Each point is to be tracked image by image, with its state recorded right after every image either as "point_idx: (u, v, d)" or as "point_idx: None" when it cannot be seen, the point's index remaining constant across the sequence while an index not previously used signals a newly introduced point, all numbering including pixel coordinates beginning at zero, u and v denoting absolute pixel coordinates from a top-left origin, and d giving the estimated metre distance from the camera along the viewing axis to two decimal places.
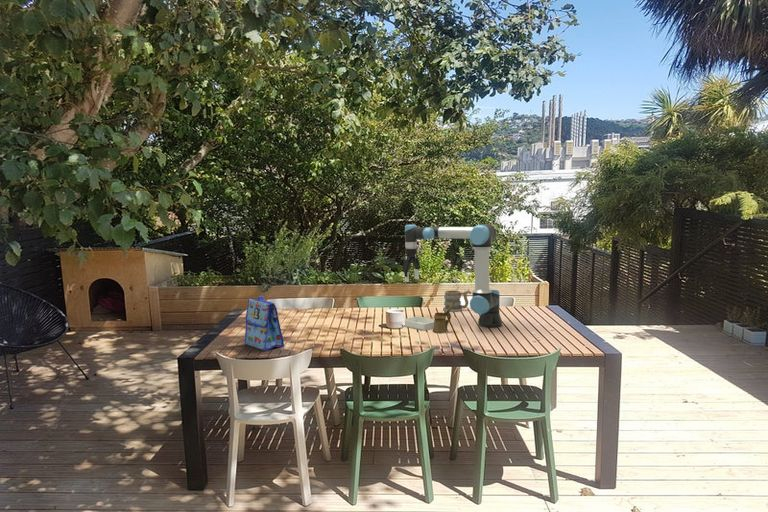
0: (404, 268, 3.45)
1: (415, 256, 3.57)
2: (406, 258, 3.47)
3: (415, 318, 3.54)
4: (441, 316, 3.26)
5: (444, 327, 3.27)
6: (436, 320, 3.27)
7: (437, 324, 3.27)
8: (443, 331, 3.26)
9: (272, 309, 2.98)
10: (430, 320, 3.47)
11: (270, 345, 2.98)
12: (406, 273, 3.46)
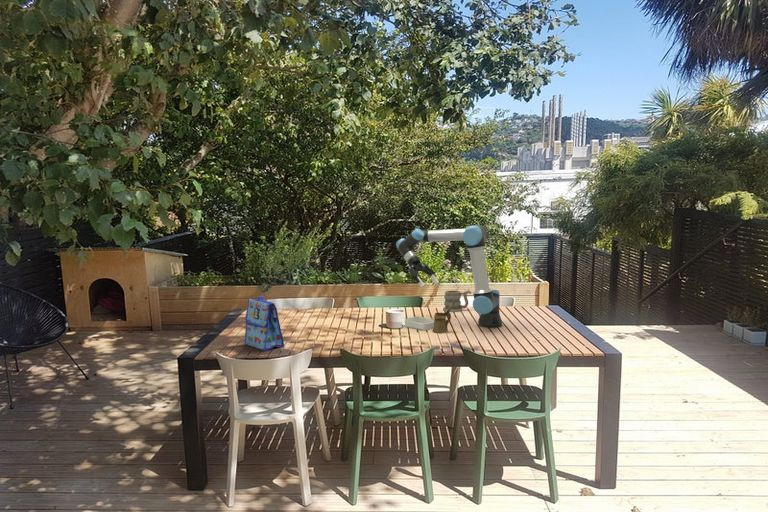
0: (412, 275, 3.32)
1: (422, 265, 3.45)
2: (410, 267, 3.37)
3: (415, 318, 3.54)
4: (441, 316, 3.26)
5: (444, 327, 3.27)
6: (436, 320, 3.27)
7: (437, 324, 3.27)
8: (443, 331, 3.26)
9: (272, 309, 2.98)
10: (430, 320, 3.47)
11: (270, 345, 2.98)
12: (416, 278, 3.31)
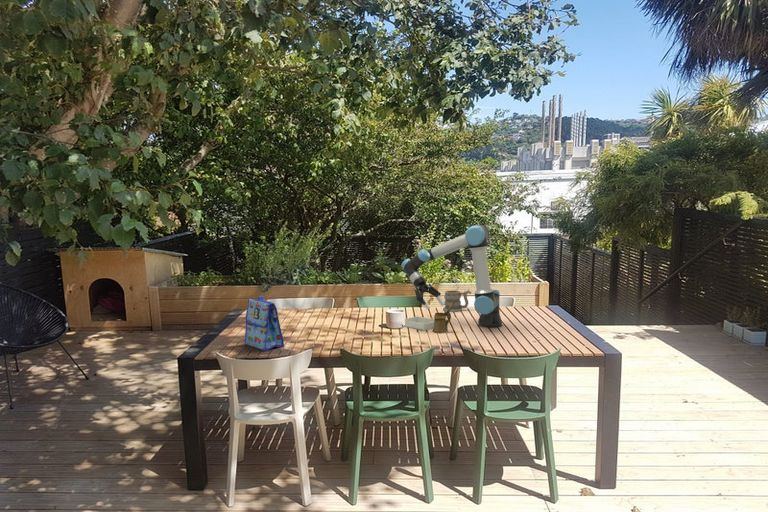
0: (417, 297, 3.30)
1: (428, 286, 3.42)
2: (415, 288, 3.34)
3: (415, 318, 3.54)
4: (441, 316, 3.26)
5: (444, 327, 3.27)
6: (436, 320, 3.27)
7: (437, 324, 3.27)
8: (443, 331, 3.26)
9: (272, 309, 2.98)
10: (430, 320, 3.47)
11: (270, 345, 2.98)
12: (422, 300, 3.29)
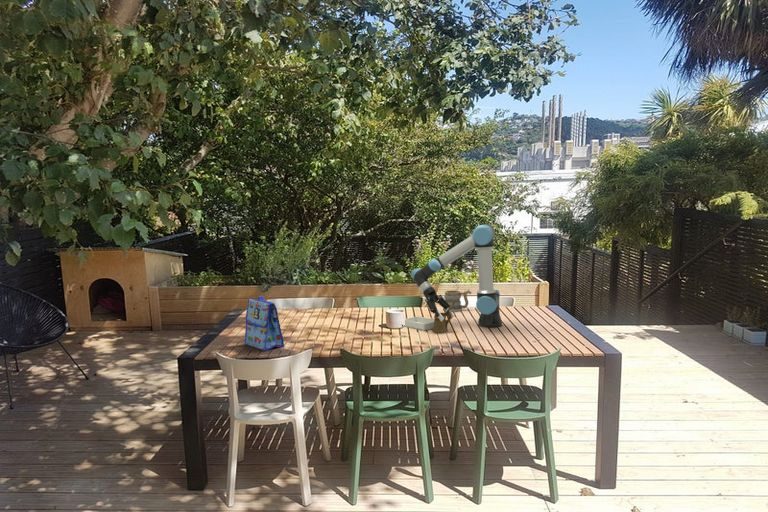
0: (431, 309, 3.25)
1: (438, 296, 3.37)
2: (426, 300, 3.29)
3: (415, 318, 3.54)
4: None
5: (444, 327, 3.27)
6: (436, 320, 3.27)
7: (437, 324, 3.27)
8: (443, 331, 3.26)
9: (272, 309, 2.98)
10: (430, 320, 3.47)
11: (270, 345, 2.98)
12: (436, 312, 3.25)
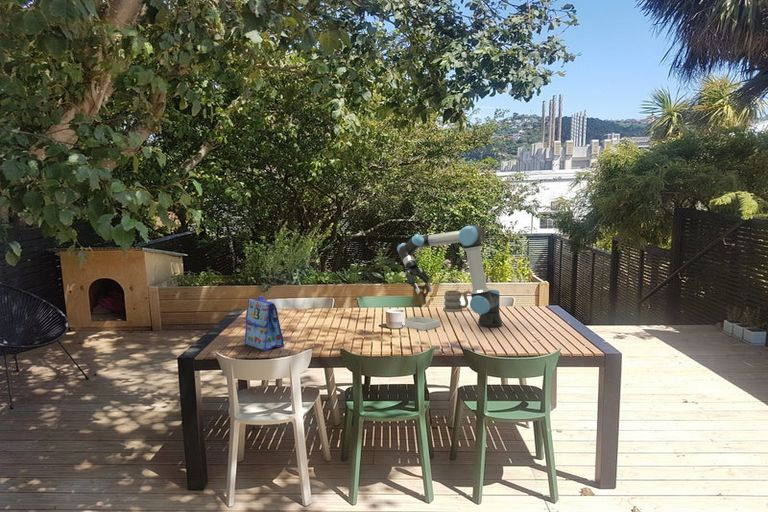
0: (409, 281, 3.38)
1: (421, 270, 3.48)
2: (406, 273, 3.42)
3: (415, 318, 3.54)
4: None
5: (421, 300, 3.38)
6: (414, 293, 3.39)
7: (414, 296, 3.39)
8: (420, 303, 3.38)
9: (272, 309, 2.98)
10: (430, 320, 3.47)
11: (270, 345, 2.98)
12: (413, 284, 3.37)
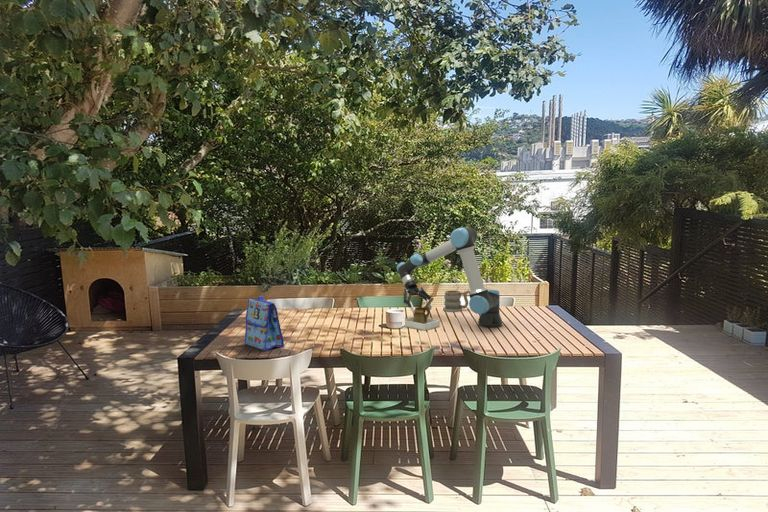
0: (404, 299, 3.42)
1: (419, 289, 3.52)
2: (404, 291, 3.46)
3: None
4: (419, 310, 3.42)
5: (422, 321, 3.42)
6: (415, 314, 3.43)
7: (415, 318, 3.43)
8: None
9: (272, 309, 2.98)
10: (430, 320, 3.47)
11: (270, 345, 2.98)
12: (408, 303, 3.40)
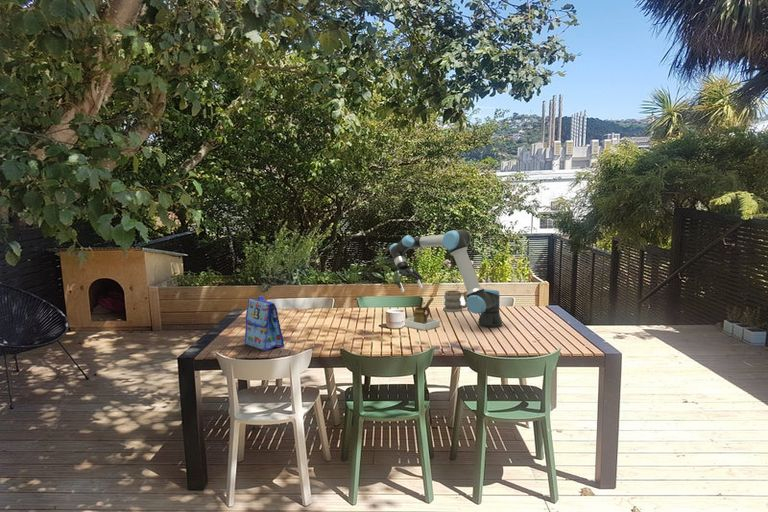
0: None
1: (411, 269, 3.62)
2: (395, 272, 3.58)
3: None
4: (419, 310, 3.42)
5: (422, 321, 3.42)
6: (415, 314, 3.43)
7: (415, 318, 3.43)
8: None
9: (272, 309, 2.98)
10: (430, 320, 3.47)
11: (270, 345, 2.98)
12: (398, 284, 3.52)
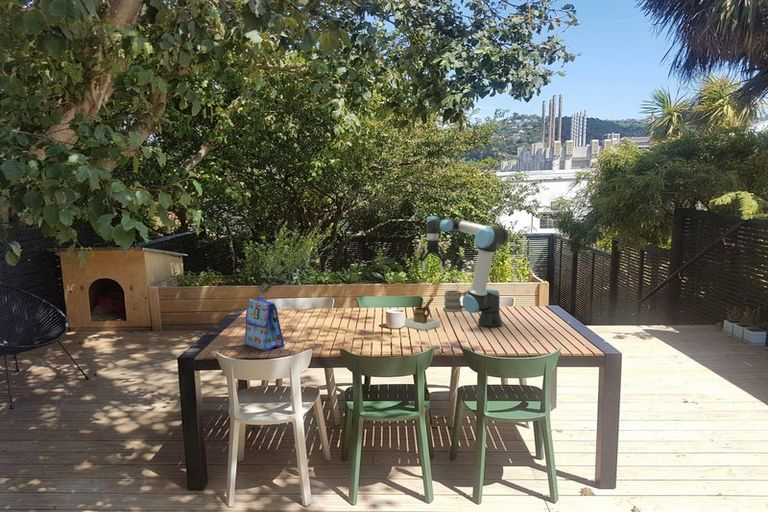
0: None
1: (439, 248, 3.56)
2: None
3: None
4: (419, 310, 3.42)
5: (422, 321, 3.42)
6: (415, 314, 3.43)
7: (415, 318, 3.43)
8: None
9: (272, 309, 2.98)
10: (430, 320, 3.47)
11: (270, 345, 2.98)
12: (421, 262, 3.64)
